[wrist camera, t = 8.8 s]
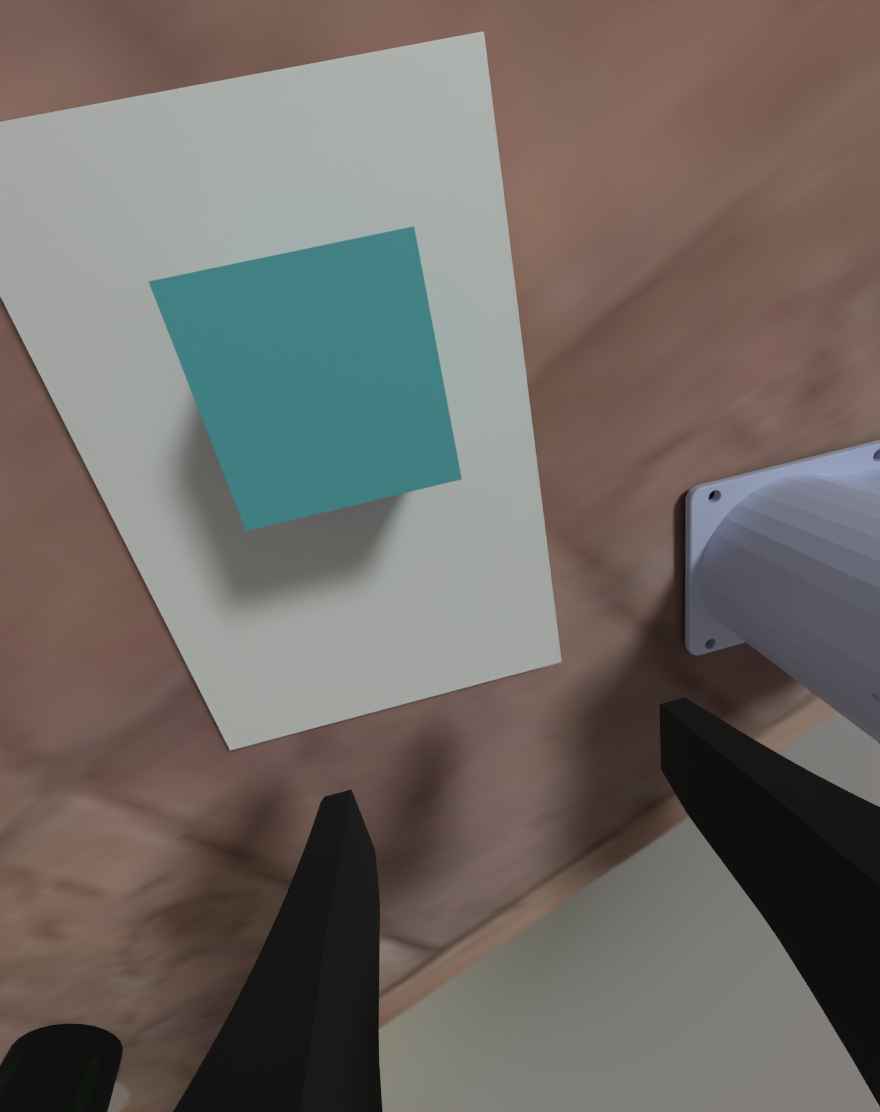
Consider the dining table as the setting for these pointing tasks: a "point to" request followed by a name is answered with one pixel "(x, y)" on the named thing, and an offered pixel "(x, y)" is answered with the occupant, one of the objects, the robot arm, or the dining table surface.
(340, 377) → the turquoise box
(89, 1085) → the cup
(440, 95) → the post board
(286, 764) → the dining table surface
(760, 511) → the robot arm
